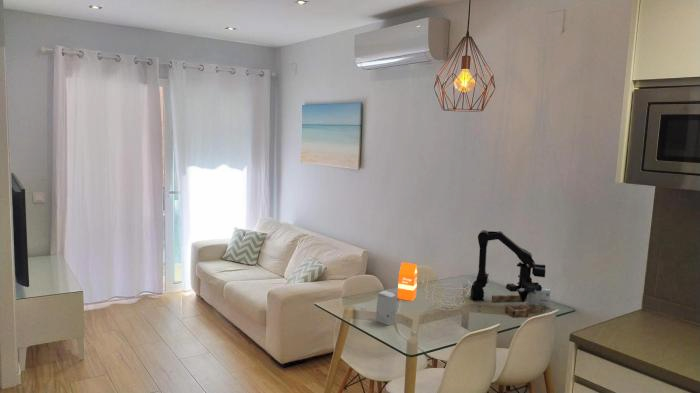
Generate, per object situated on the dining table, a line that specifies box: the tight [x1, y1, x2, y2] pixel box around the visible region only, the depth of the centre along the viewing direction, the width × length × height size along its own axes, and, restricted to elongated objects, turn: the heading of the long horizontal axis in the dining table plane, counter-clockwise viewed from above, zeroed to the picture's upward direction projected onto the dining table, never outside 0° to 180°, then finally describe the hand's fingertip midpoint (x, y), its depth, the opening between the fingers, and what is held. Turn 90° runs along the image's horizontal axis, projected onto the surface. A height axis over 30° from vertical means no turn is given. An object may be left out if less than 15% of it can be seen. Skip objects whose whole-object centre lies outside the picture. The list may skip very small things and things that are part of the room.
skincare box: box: [375, 289, 398, 326], centre depth 248 cm, size 8×6×15 cm
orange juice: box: [397, 262, 418, 302], centre depth 284 cm, size 8×9×20 cm
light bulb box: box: [526, 285, 551, 308], centre depth 281 cm, size 11×7×11 cm, turn 86°
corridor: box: [491, 294, 547, 318], centre depth 276 cm, size 23×23×4 cm
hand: (522, 302), depth 279 cm, fingers closed, pressing on light bulb box
